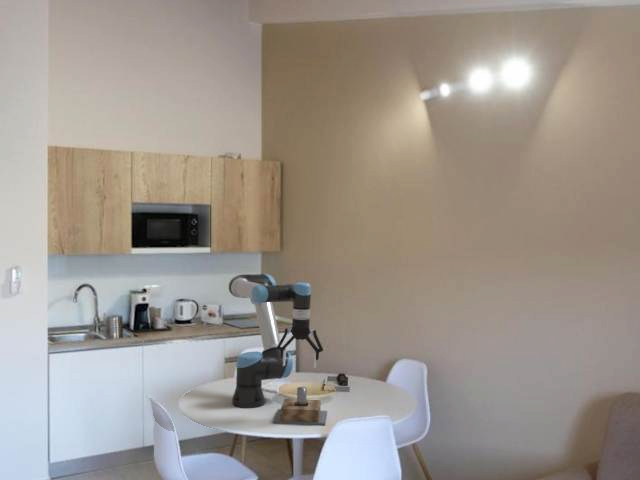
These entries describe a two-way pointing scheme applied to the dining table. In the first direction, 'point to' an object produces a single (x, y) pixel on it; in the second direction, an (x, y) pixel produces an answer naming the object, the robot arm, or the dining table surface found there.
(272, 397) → the dining table surface
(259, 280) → the robot arm
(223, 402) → the dining table surface
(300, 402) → the peg
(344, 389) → the parts tray
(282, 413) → the socket
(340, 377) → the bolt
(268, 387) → the calculator
